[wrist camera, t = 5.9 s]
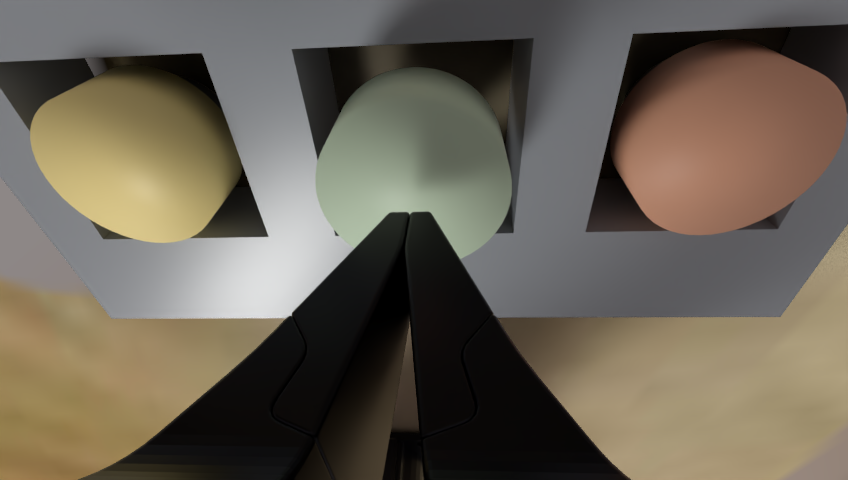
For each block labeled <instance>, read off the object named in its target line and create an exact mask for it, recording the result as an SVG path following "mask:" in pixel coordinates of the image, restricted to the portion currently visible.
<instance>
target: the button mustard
mask: <svg viewBox="0 0 848 480" xmlns="http://www.w3.org/2000/svg"><path fill="white" fill-rule="evenodd" d="M30 141H31V147H32V151H33V154H34V157H35V160H36V162H37V164H38V166H39V168H40V170H41V171H42V173H43V174H44V176H45V177H46V179H47V180H48V182H49V183H50V184H51V185H52V187H53V188H54V189H55V190H56V191H57V192H58V193H59V195H60V196H61V197H62V198H63V199H64V200H66V201H67V202H68V203H69V204H70V205H71V206H72V207H74V208H75V209H76V210H77V211H79V212H80V213H81V214H83V215H84V216H86V217H87V218H89V219H90V220H92V221H93V222H95V223H97V224H99V225H100V226H102V227H104V228H106V229H108V230H111V231H113V232H115V233H118V234H120V235H123V236H126V237H129V238H132V239H136V240H141V241H146V242H154V243H170V242H177V241H182V240H185V239H188V238H191V237H192V236H194V235H196V234H198V233H199V232H200V231H202V230H203V229H204V228H205V226H206V225H207V224H208V223H209V221H210V220H211V219H212V217H213V216H214V215H215V213H216V212H217V210H218V209H219V208H220V206H221V205H222V204H223V202H224V201H225V200H226V198H227V197H228V195H229V194H230V193H231V191H232V190H233V189H234V187H235V186H236V184H237V182H238V181H239V178H240V176H241V172H242V166H243V165H242V162H241V159H240V156H239V154H238V151H237V148H236V145H235V143H234V140H233V137H232V134H231V132H230V129H229V126H228V123H227V121H226V118H225V115H224V112H223V110H222V107H221V104H220V101H219V98H218V96H217V95H216V94H215V93H214V92H213V91H211V90H210V89H209V88H207V87H206V86H204V85H203V84H201V83H199V82H197V81H195V80H192V79H190V78H187V77H183V76H178V75H174V74H172V73H169V72H167V71H164V70H161V69H157V68H154V67H149V66H142V65H126V66H119V67H115V68H112V69H110V70H108V71H106V72H104V73H102V74H100V75H98V76H96V77H94V78H92V79H90V80H88V81H86V82H84V83H82V84H80V85H78V86H76V87H74V88H72V89H70V90H68V91H66V92H64V93H62V94H60V95H58V96H56V97H54V98H52V99H50V100H48V101H47V102H46V103H44V104H43V105H42V106H41V107H40V108H39V109H38V111H37V112H36V113H35V115H34V118H33V120H32V123H31V128H30Z"/></svg>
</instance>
